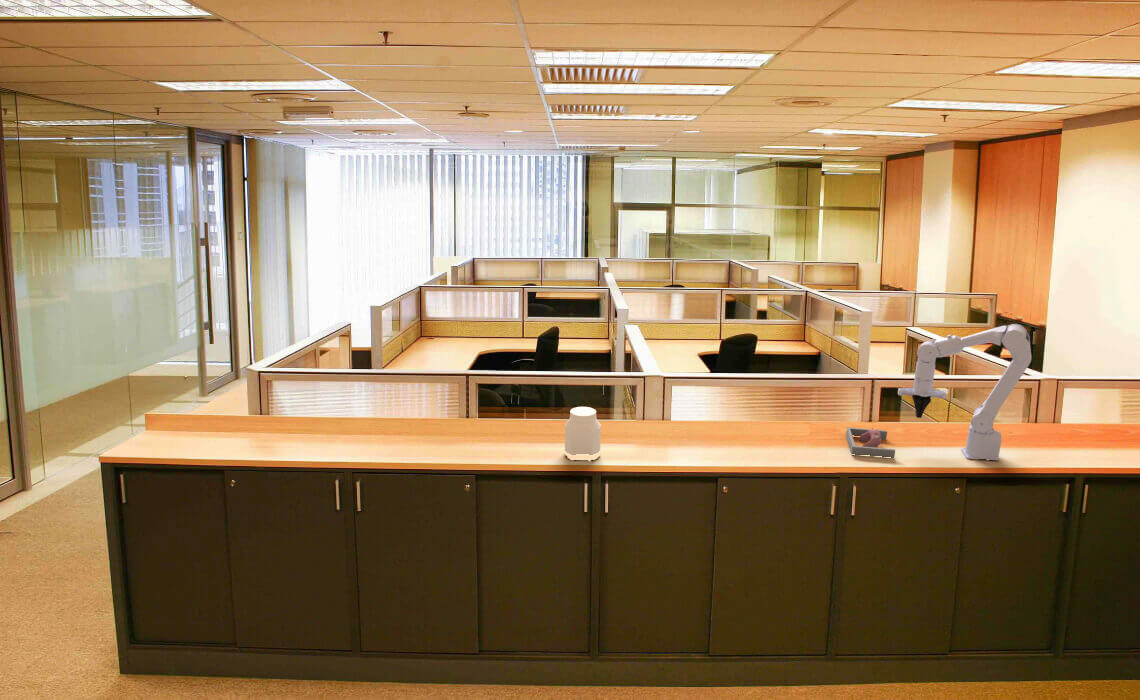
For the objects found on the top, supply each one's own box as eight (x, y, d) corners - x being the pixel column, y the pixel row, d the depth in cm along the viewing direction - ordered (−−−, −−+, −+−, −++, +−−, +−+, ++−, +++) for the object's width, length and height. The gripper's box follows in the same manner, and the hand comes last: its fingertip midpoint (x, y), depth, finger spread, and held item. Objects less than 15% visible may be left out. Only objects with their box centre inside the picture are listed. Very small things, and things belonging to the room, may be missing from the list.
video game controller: (873, 457, 266) (885, 440, 263) (860, 450, 266) (873, 433, 264) (869, 445, 275) (881, 429, 273) (857, 438, 275) (869, 422, 273)
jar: (563, 460, 256) (564, 416, 252) (565, 448, 266) (565, 405, 261) (600, 461, 256) (601, 417, 252) (600, 449, 265) (601, 406, 261)
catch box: (885, 438, 277) (886, 430, 276) (894, 459, 261) (895, 450, 260) (845, 435, 279) (846, 427, 278) (851, 455, 263) (852, 446, 262)
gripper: (902, 380, 264) (897, 419, 268) (950, 383, 262) (944, 423, 266) (899, 373, 271) (893, 411, 275) (945, 376, 268) (939, 415, 272)
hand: (918, 416), depth 271 cm, fingers closed
